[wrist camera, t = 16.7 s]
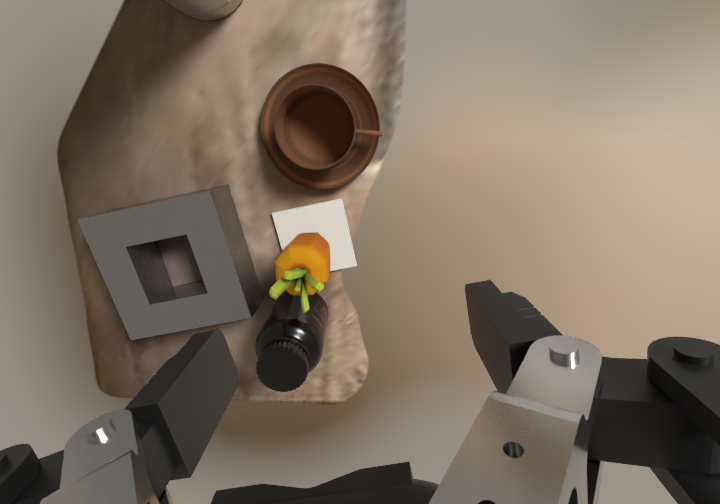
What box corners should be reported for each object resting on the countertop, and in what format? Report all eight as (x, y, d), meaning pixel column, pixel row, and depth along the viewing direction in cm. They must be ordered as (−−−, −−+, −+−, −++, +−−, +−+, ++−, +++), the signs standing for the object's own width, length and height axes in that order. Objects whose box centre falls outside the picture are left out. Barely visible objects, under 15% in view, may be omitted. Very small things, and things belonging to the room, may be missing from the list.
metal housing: (110, 209, 41) (76, 219, 37) (227, 184, 40) (209, 190, 36) (155, 319, 46) (130, 340, 41) (263, 298, 44) (251, 317, 40)
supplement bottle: (284, 341, 46) (257, 408, 35) (266, 293, 44) (231, 347, 33) (336, 328, 46) (326, 393, 34) (320, 279, 44) (304, 330, 32)
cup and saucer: (362, 51, 37) (361, 35, 31) (391, 170, 40) (395, 175, 34) (249, 86, 38) (227, 77, 32) (286, 199, 41) (273, 209, 35)
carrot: (343, 227, 41) (334, 274, 27) (328, 266, 43) (311, 330, 28) (302, 211, 41) (269, 250, 26) (288, 251, 42) (249, 309, 28)
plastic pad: (272, 212, 41) (271, 213, 41) (341, 198, 41) (341, 198, 40) (291, 277, 44) (290, 278, 43) (356, 264, 43) (356, 266, 43)
